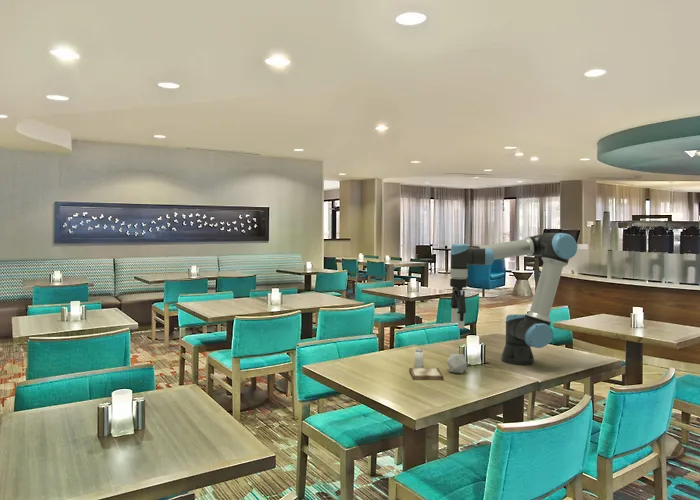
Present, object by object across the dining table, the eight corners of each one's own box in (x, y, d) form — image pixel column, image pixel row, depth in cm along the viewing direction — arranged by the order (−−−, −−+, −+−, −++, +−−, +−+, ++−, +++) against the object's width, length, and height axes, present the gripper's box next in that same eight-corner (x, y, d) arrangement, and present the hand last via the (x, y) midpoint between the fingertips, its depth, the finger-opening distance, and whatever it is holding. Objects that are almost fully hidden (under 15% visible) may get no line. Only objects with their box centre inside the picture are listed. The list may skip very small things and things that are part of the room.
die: (469, 372, 230) (459, 352, 234) (472, 367, 222) (461, 346, 226) (452, 379, 229) (442, 359, 233) (454, 374, 221) (444, 353, 225)
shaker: (422, 365, 239) (422, 348, 238) (423, 367, 235) (424, 350, 234) (414, 365, 239) (414, 348, 238) (415, 367, 235) (415, 350, 234)
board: (438, 371, 228) (438, 367, 228) (443, 379, 215) (443, 376, 215) (409, 371, 228) (409, 367, 228) (413, 379, 215) (413, 375, 215)
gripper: (445, 275, 238) (444, 320, 239) (456, 280, 213) (455, 330, 214) (460, 275, 238) (459, 320, 239) (474, 281, 213) (472, 330, 214)
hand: (457, 325), depth 227 cm, fingers open, 13 cm apart
